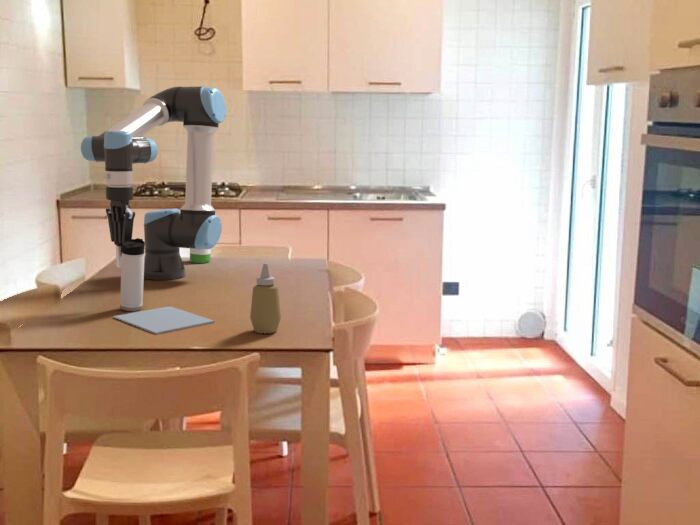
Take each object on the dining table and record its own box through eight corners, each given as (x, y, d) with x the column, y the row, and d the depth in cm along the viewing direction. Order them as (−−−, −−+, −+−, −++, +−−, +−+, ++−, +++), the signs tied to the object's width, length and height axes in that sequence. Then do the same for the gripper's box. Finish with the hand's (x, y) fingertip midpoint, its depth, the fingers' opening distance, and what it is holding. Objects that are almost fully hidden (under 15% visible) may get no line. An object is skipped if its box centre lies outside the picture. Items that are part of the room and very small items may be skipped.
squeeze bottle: (250, 327, 211) (250, 261, 208) (281, 327, 212) (281, 261, 209) (249, 335, 204) (249, 266, 200) (281, 335, 204) (281, 266, 201)
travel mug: (147, 306, 231) (150, 240, 225) (134, 313, 225) (136, 245, 219) (129, 302, 233) (131, 236, 227) (115, 308, 226) (117, 241, 221)
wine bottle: (193, 259, 307) (192, 182, 301) (213, 260, 306) (212, 182, 300) (187, 263, 299) (185, 183, 294) (207, 264, 298) (205, 184, 293)
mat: (113, 318, 218) (113, 316, 218) (170, 307, 231) (170, 306, 231) (156, 334, 203) (156, 332, 203) (214, 322, 215) (214, 320, 215)
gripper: (96, 184, 227) (99, 265, 231) (118, 188, 218) (121, 272, 222) (120, 183, 232) (122, 262, 237) (143, 187, 223) (145, 269, 227)
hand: (122, 267), depth 229 cm, fingers closed
